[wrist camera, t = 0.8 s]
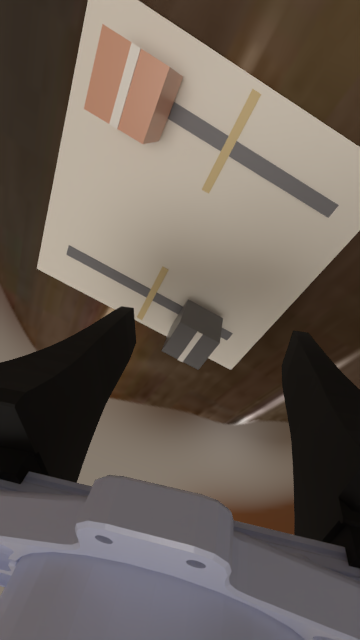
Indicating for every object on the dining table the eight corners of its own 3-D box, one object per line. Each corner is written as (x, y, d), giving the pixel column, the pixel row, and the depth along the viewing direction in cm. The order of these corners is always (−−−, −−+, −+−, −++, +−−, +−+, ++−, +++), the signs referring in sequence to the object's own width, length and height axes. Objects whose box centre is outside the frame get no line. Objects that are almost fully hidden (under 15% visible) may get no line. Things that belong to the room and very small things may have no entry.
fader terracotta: (183, 76, 14) (169, 66, 12) (158, 141, 16) (142, 144, 13) (128, 41, 14) (101, 23, 11) (109, 111, 15) (83, 108, 13)
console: (395, 174, 16) (408, 179, 15) (231, 358, 26) (230, 370, 25) (107, -16, 14) (92, -30, 13) (47, 261, 24) (35, 269, 23)
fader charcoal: (223, 318, 21) (219, 343, 19) (203, 343, 23) (198, 370, 21) (188, 299, 21) (179, 322, 19) (170, 326, 23) (161, 351, 20)
